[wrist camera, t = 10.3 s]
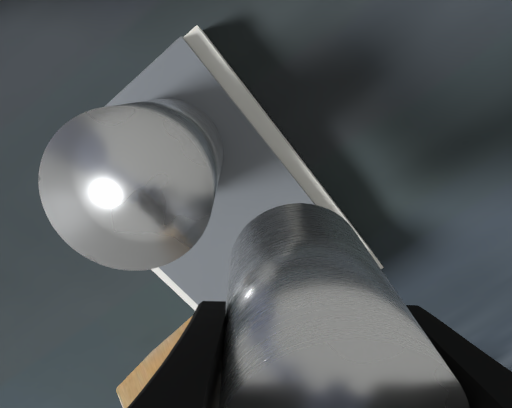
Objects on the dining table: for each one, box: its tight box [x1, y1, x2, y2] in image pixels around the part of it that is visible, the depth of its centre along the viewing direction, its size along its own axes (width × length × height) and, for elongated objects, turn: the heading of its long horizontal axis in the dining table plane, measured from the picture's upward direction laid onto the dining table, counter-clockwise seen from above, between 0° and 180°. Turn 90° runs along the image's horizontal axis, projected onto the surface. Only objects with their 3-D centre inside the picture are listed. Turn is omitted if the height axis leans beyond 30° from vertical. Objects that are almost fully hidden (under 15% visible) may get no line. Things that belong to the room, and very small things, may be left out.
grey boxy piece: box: [105, 25, 384, 311], centre depth 16 cm, size 14×9×5 cm, turn 39°
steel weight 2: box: [219, 203, 470, 408], centre depth 9 cm, size 4×4×6 cm
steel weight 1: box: [39, 98, 223, 271], centre depth 12 cm, size 4×4×6 cm
